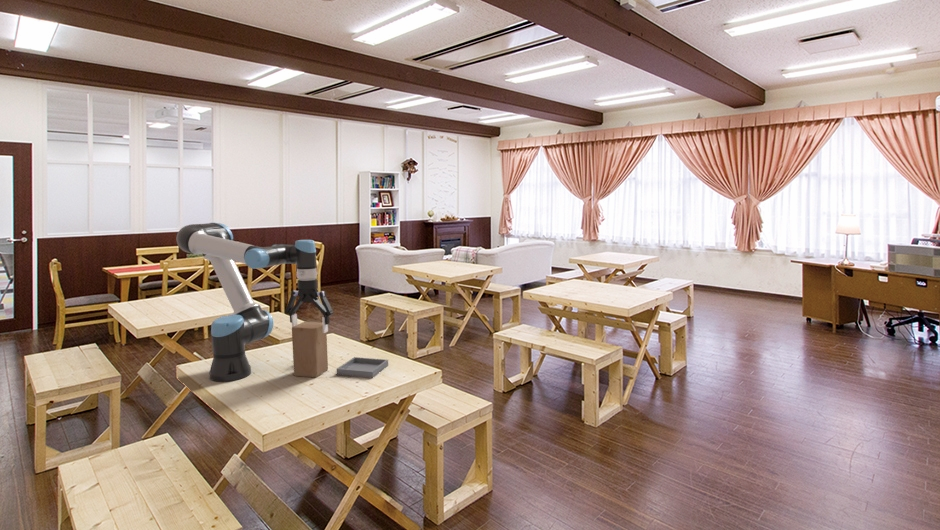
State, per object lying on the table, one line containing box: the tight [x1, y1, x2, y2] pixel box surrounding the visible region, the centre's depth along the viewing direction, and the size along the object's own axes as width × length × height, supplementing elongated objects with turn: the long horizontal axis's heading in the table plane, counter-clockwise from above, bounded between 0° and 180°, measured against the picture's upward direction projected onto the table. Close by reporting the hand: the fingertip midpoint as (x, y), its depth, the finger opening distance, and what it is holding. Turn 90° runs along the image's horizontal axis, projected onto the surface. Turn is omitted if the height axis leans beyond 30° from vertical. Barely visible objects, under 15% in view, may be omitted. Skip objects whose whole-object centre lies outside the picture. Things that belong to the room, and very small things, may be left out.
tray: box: [336, 356, 389, 379], centre depth 212 cm, size 16×16×2 cm
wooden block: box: [291, 321, 329, 378], centre depth 208 cm, size 10×10×20 cm
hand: (310, 331), depth 207 cm, fingers open, 13 cm apart
